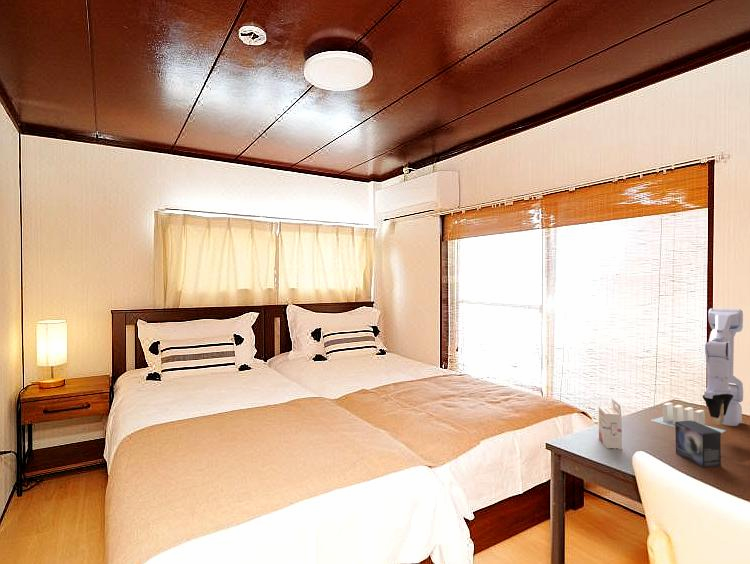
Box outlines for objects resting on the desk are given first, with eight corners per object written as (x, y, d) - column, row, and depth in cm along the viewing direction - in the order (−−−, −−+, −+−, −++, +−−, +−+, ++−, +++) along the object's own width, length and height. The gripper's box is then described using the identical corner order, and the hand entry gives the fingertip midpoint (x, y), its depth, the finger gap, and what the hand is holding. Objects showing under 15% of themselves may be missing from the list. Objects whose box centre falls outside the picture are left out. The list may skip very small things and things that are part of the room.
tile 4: (678, 421, 161) (678, 404, 161) (683, 422, 160) (683, 405, 160) (672, 423, 159) (672, 406, 159) (677, 424, 158) (677, 407, 158)
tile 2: (700, 426, 155) (699, 409, 155) (704, 428, 154) (704, 410, 154) (694, 429, 153) (694, 411, 153) (698, 430, 152) (698, 412, 152)
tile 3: (689, 424, 158) (689, 407, 158) (693, 425, 157) (693, 408, 157) (683, 426, 156) (683, 409, 156) (687, 427, 155) (687, 410, 155)
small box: (673, 453, 135) (673, 420, 135) (692, 452, 136) (692, 419, 135) (702, 468, 124) (701, 432, 124) (722, 466, 125) (722, 431, 125)
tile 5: (668, 418, 164) (668, 402, 164) (672, 419, 163) (672, 403, 163) (662, 420, 162) (662, 404, 162) (667, 422, 161) (666, 405, 161)
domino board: (666, 417, 169) (666, 415, 169) (726, 432, 151) (726, 430, 151) (649, 422, 163) (649, 420, 163) (711, 439, 145) (711, 437, 145)
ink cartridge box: (597, 438, 148) (597, 397, 147) (613, 439, 147) (612, 397, 146) (606, 448, 139) (605, 404, 139) (622, 449, 138) (622, 405, 138)
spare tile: (718, 420, 145) (718, 402, 145) (723, 422, 144) (723, 403, 144) (712, 423, 143) (712, 404, 143) (717, 424, 142) (717, 405, 142)
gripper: (722, 381, 136) (722, 423, 136) (741, 375, 143) (741, 415, 144) (697, 377, 142) (697, 417, 142) (716, 372, 149) (717, 409, 150)
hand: (718, 415), depth 143 cm, fingers closed on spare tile, 4 cm apart
